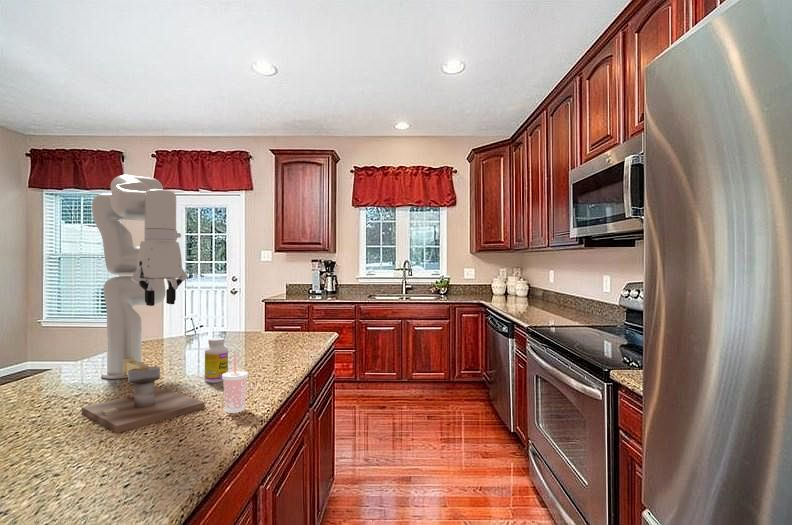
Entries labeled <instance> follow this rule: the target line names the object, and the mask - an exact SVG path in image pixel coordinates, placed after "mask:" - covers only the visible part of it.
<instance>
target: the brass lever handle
mask: <svg viewBox="0 0 792 525" xmlns="http://www.w3.org/2000/svg"><path fill="white" fill-rule="evenodd" d="M123 376H128V378H127V382H128V383H131V384H134V383H148V382H153V381H154V382H156V381H158V380H160V379H161V368H160V367H159V366H150V365H149V364H148V363H145V362H142V361H141V362H138V361H135V358H126V359H123Z"/></svg>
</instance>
